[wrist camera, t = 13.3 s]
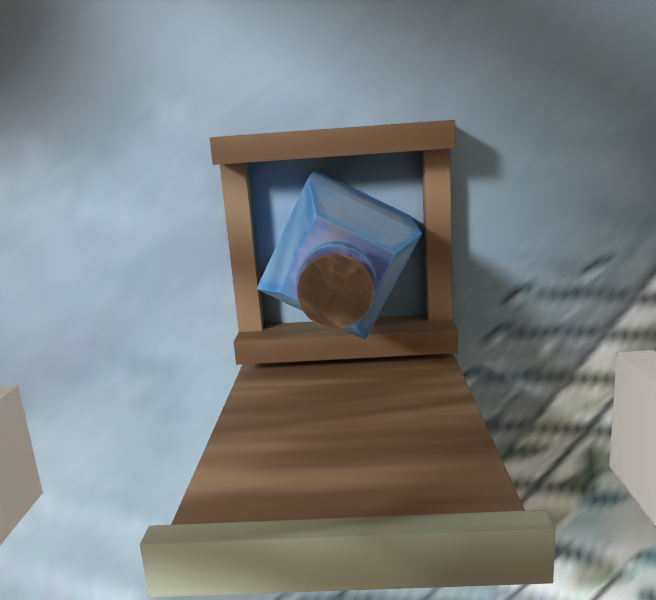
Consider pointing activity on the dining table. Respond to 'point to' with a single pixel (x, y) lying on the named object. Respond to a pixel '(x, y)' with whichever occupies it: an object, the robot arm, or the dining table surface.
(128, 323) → the dining table surface
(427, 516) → the wooden l-shaped stand
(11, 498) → the robot arm
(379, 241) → the perfume bottle
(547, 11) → the dining table surface
